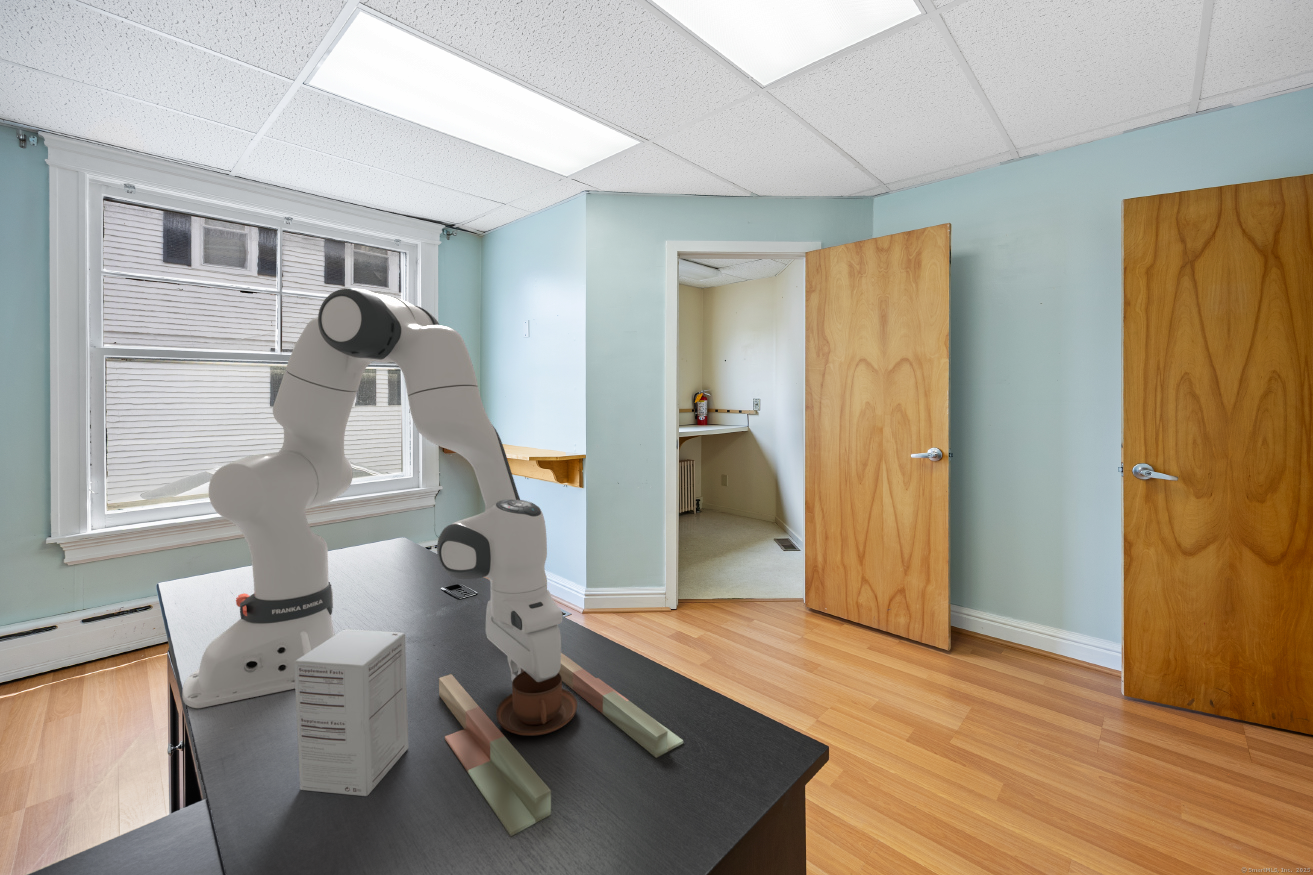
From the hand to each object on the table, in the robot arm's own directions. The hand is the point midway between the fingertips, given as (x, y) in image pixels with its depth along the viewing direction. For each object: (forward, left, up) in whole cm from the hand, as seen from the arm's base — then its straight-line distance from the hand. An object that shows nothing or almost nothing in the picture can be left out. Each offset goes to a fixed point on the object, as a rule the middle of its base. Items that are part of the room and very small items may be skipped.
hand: (520, 683), depth 88 cm
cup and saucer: (-1, -7, -2) cm, 8 cm away
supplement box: (-24, -3, -2) cm, 24 cm away
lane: (0, -9, -2) cm, 9 cm away
